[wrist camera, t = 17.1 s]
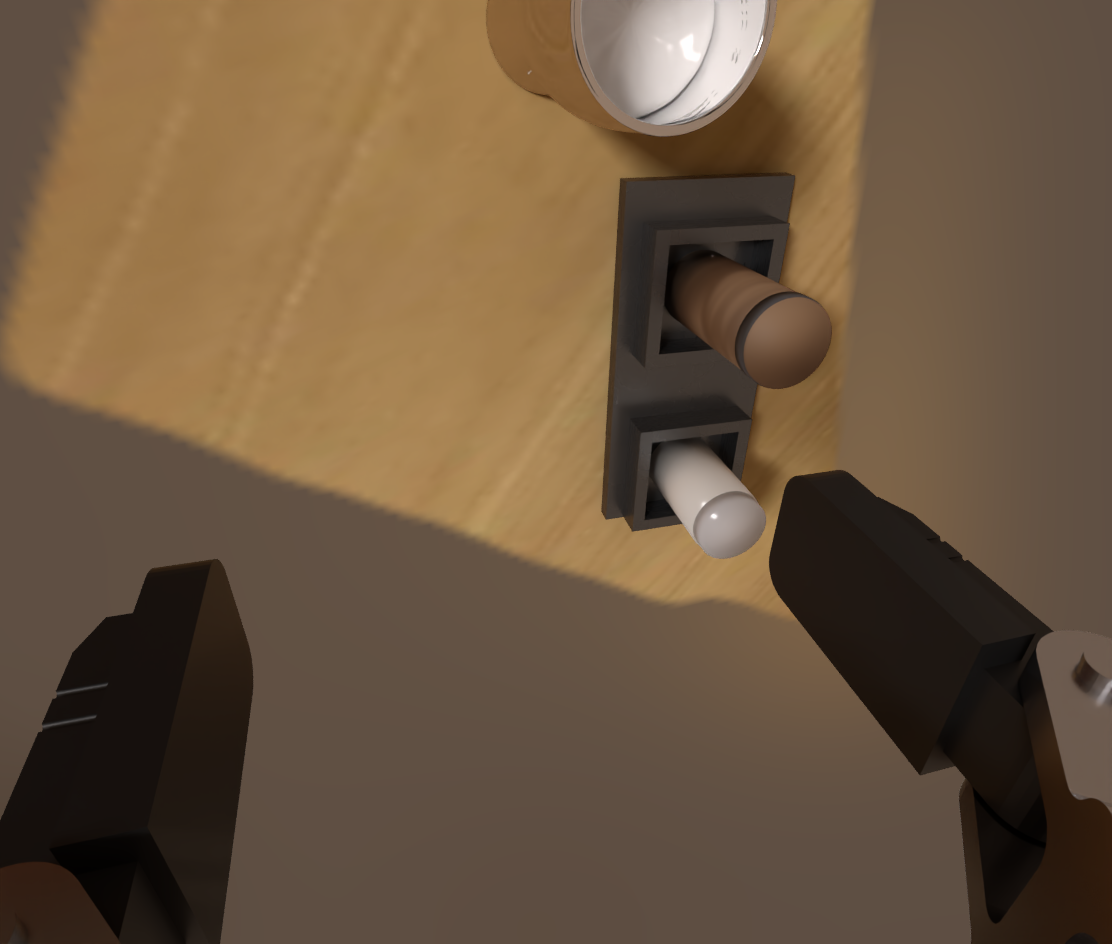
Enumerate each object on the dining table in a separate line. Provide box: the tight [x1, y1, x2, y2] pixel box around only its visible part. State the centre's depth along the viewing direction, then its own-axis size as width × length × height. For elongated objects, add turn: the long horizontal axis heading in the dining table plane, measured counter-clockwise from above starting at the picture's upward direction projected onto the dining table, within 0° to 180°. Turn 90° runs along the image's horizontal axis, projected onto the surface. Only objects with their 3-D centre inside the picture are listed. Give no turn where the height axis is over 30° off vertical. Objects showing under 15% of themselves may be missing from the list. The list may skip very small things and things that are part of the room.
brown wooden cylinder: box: [664, 250, 832, 389], centre depth 36 cm, size 4×4×10 cm
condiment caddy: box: [602, 173, 795, 532], centre depth 43 cm, size 22×10×3 cm, turn 0°
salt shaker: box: [649, 437, 766, 559], centre depth 44 cm, size 4×4×8 cm
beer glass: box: [486, 0, 777, 137], centre depth 26 cm, size 7×7×15 cm
